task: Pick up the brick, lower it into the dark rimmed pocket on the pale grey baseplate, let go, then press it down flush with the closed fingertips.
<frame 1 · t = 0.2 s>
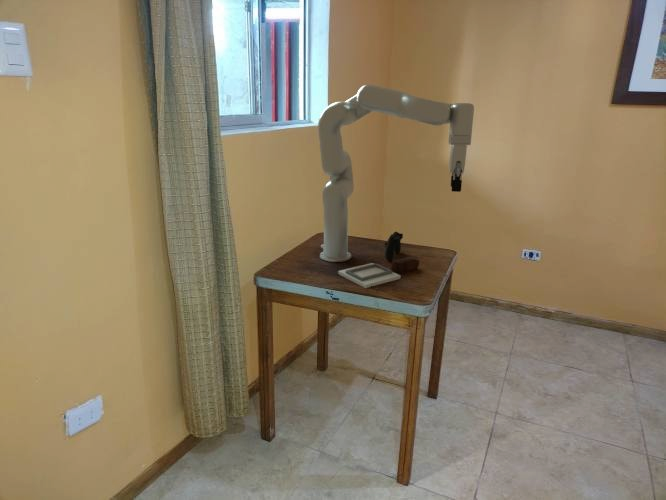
hand: (455, 188, 165), 31 cm above the table, tool pointing down, fingers open, 9 cm apart
brick: (404, 271, 172), on the table
baseplate: (368, 276, 166), on the table
gaming controller: (392, 257, 187), on the table
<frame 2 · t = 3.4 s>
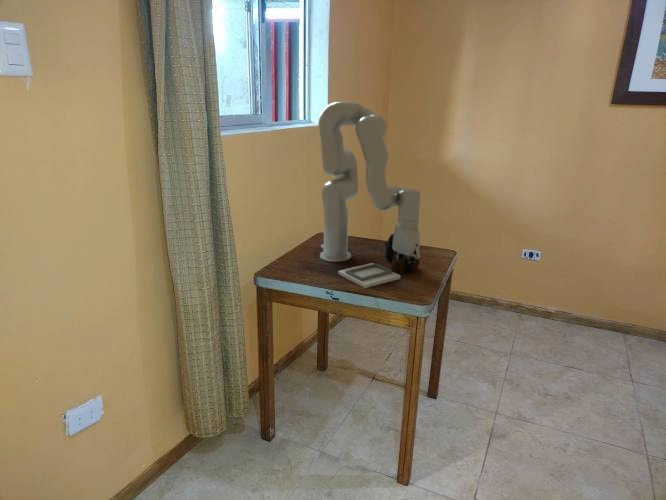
hand: (404, 270, 172), 0 cm above the table, tool pointing down, fingers closed on brick, 4 cm apart
brick: (404, 271, 172), on the table, touching gripper
everything else where it was.
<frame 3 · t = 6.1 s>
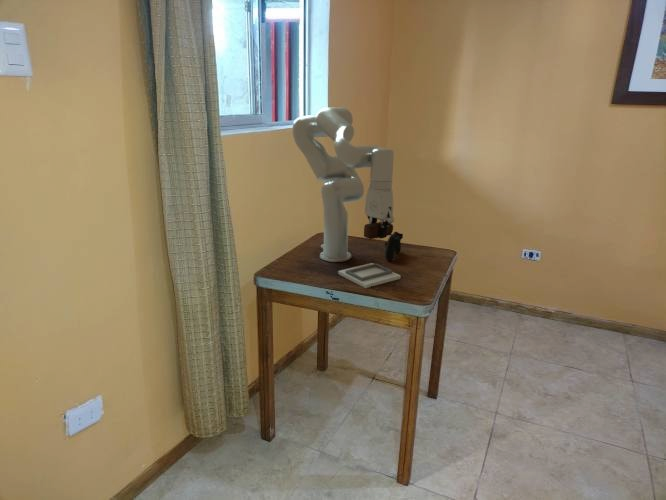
hand: (378, 235, 163), 15 cm above the table, tool pointing down, fingers closed on brick, 4 cm apart
brick: (378, 236, 163), point 14 cm above the table, touching gripper
everything else where it was.
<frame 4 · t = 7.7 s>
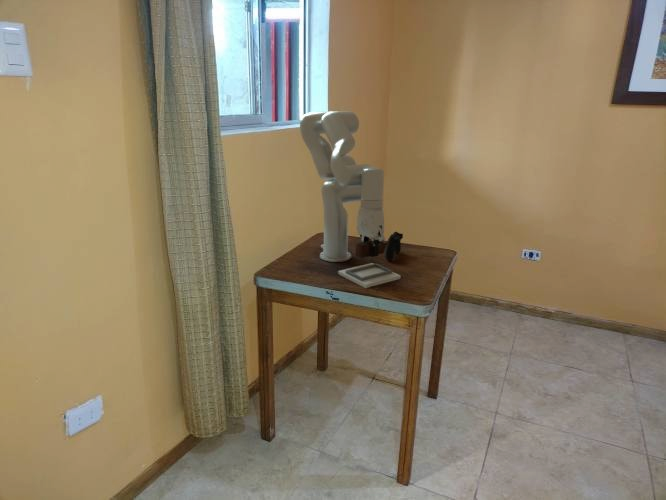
hand: (370, 254, 163), 9 cm above the table, tool pointing down, fingers closed on brick, 4 cm apart
brick: (370, 255, 163), point 8 cm above the table, touching gripper
everything else where it was.
when the fingers open (3 cm above the table, at t = 9.0 s): brick drops 2 cm, resting on baseplate.
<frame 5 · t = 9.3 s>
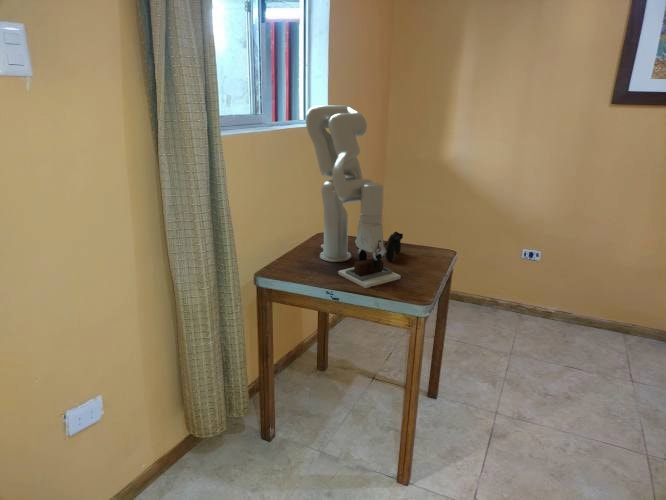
hand: (369, 266, 165), 4 cm above the table, tool pointing down, fingers open, 7 cm apart
brick: (368, 273, 166), point 1 cm above the table, touching baseplate
everything else where it was.
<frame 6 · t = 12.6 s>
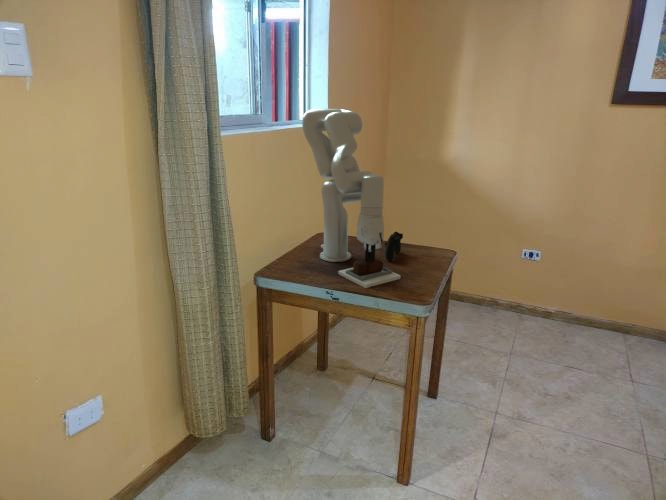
hand: (369, 260, 164), 6 cm above the table, tool pointing down, fingers closed
brick: (368, 273, 166), point 1 cm above the table, touching baseplate, gripper
everything else where it was.
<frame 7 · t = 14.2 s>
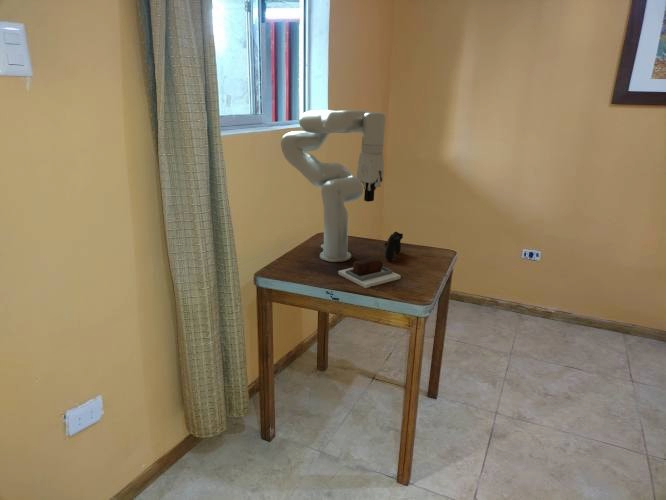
hand: (368, 200, 166), 26 cm above the table, tool pointing down, fingers closed
brick: (367, 273, 166), point 1 cm above the table, touching baseplate
everything else where it was.
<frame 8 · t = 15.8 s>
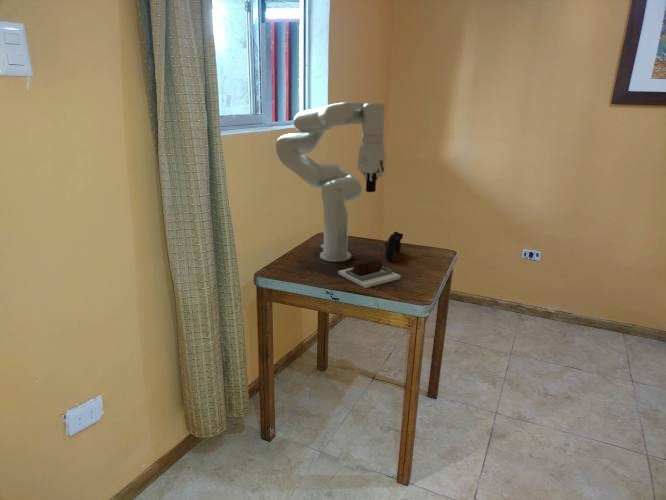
hand: (370, 191, 166), 29 cm above the table, tool pointing down, fingers closed
nothing on the table moved.
at the end: brick 0.9 cm off-centre on the baseplate, point 1.0 cm above the baseplate's base; brick tilted 1°; the gripper is holding nothing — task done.
